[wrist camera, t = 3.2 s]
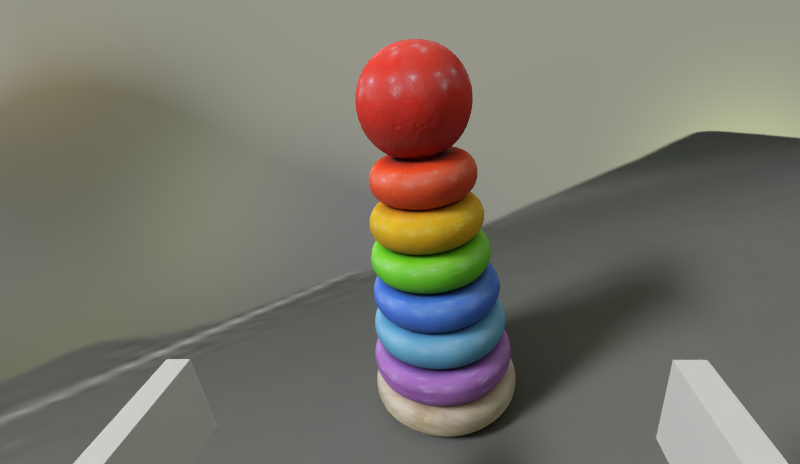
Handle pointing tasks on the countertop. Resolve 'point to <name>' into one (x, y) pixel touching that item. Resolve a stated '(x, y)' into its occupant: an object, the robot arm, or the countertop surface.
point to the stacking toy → (431, 247)
